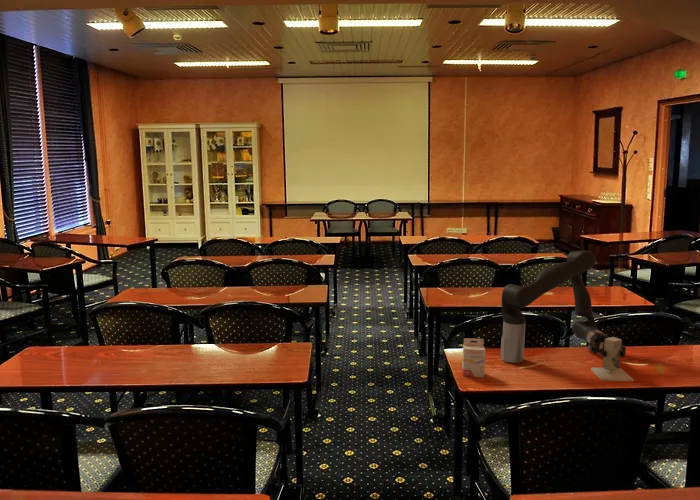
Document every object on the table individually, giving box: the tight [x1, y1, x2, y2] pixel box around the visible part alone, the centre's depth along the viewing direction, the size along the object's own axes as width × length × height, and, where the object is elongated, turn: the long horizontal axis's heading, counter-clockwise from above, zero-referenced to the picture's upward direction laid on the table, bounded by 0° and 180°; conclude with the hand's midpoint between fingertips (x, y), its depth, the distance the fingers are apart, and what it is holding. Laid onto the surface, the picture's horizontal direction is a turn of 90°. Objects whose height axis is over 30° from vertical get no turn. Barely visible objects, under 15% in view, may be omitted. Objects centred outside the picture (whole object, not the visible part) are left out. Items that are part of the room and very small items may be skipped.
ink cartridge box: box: [461, 337, 486, 378], centre depth 226 cm, size 9×5×15 cm, turn 84°
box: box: [602, 336, 623, 371], centre depth 225 cm, size 5×4×13 cm
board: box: [590, 367, 634, 382], centre depth 226 cm, size 12×12×1 cm
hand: (614, 354), depth 223 cm, fingers closed on box, 6 cm apart
